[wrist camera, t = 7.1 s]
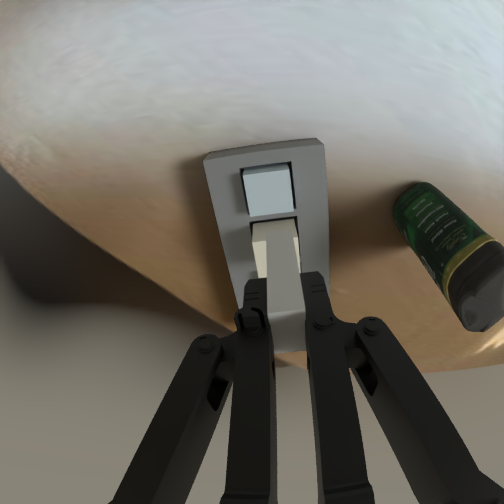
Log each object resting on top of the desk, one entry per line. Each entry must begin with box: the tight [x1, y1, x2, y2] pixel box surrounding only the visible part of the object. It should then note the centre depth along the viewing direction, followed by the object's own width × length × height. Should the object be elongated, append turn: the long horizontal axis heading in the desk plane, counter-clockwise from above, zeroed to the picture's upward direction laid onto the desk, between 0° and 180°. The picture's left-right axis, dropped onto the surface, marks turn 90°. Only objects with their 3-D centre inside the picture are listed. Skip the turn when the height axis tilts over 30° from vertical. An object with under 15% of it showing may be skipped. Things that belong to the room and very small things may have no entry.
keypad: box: [203, 138, 329, 309], centre depth 34 cm, size 26×12×4 cm, turn 9°
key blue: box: [243, 162, 294, 217], centre depth 29 cm, size 4×4×4 cm
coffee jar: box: [393, 182, 504, 332], centre depth 25 cm, size 10×8×19 cm
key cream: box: [252, 219, 301, 278], centre depth 30 cm, size 4×4×4 cm
